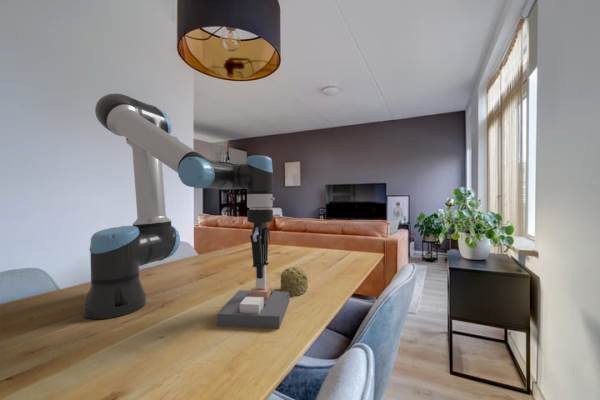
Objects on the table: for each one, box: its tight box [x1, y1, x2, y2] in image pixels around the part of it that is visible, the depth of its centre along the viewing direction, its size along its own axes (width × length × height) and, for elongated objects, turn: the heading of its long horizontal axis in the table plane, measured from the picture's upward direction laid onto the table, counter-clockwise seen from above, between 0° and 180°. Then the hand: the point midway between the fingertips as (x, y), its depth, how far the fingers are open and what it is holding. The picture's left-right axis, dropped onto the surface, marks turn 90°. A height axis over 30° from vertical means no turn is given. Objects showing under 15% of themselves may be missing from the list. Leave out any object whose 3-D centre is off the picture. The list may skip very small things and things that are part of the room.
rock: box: [280, 266, 309, 297], centre depth 92 cm, size 10×11×10 cm
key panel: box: [216, 289, 290, 329], centre depth 75 cm, size 16×17×3 cm
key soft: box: [240, 297, 264, 314], centre depth 70 cm, size 5×5×4 cm
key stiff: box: [249, 285, 272, 300], centre depth 79 cm, size 5×5×4 cm
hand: (260, 287), depth 79 cm, fingers closed
